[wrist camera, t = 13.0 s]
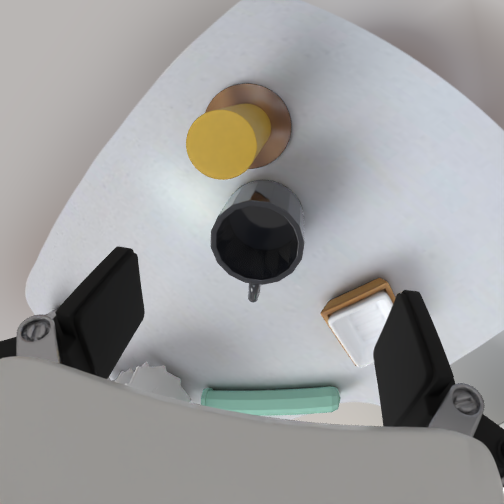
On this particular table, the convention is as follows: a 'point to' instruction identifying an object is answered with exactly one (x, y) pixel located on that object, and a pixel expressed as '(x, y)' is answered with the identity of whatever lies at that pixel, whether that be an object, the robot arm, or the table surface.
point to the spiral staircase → (153, 381)
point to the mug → (259, 234)
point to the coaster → (269, 105)
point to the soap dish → (360, 319)
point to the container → (274, 400)
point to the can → (227, 140)
